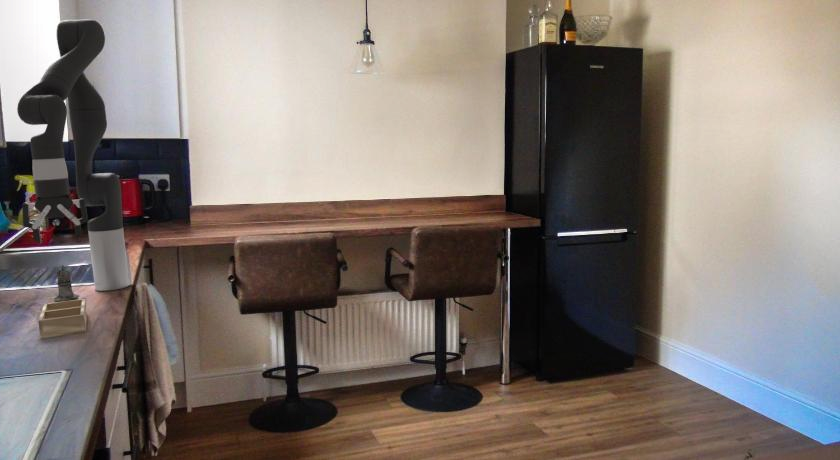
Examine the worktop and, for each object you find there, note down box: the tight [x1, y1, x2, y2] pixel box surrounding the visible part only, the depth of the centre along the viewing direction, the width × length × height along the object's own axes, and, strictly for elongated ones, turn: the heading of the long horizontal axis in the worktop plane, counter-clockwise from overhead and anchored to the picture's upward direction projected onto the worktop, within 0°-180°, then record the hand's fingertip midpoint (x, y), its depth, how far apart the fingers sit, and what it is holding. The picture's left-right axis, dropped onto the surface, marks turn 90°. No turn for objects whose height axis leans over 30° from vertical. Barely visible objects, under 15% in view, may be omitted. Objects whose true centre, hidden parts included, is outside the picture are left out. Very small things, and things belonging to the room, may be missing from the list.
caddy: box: [38, 298, 88, 339], centre depth 160 cm, size 17×9×4 cm, turn 25°
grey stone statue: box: [52, 264, 80, 302], centre depth 173 cm, size 6×6×12 cm
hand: (58, 241), depth 171 cm, fingers open, 8 cm apart
